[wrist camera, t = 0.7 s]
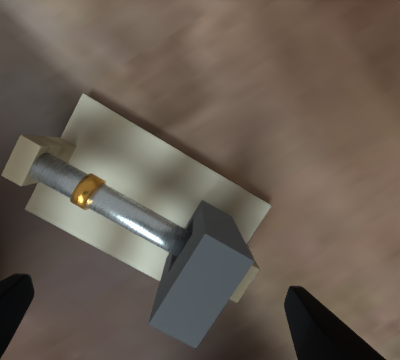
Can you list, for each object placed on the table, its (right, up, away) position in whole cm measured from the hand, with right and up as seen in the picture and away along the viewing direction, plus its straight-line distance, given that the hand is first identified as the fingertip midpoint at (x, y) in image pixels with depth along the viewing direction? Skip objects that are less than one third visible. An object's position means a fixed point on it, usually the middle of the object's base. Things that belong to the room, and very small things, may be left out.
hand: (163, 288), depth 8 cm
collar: (+1, -1, +11) cm, 12 cm away
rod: (-3, +1, +9) cm, 10 cm away
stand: (-3, +2, +12) cm, 13 cm away
